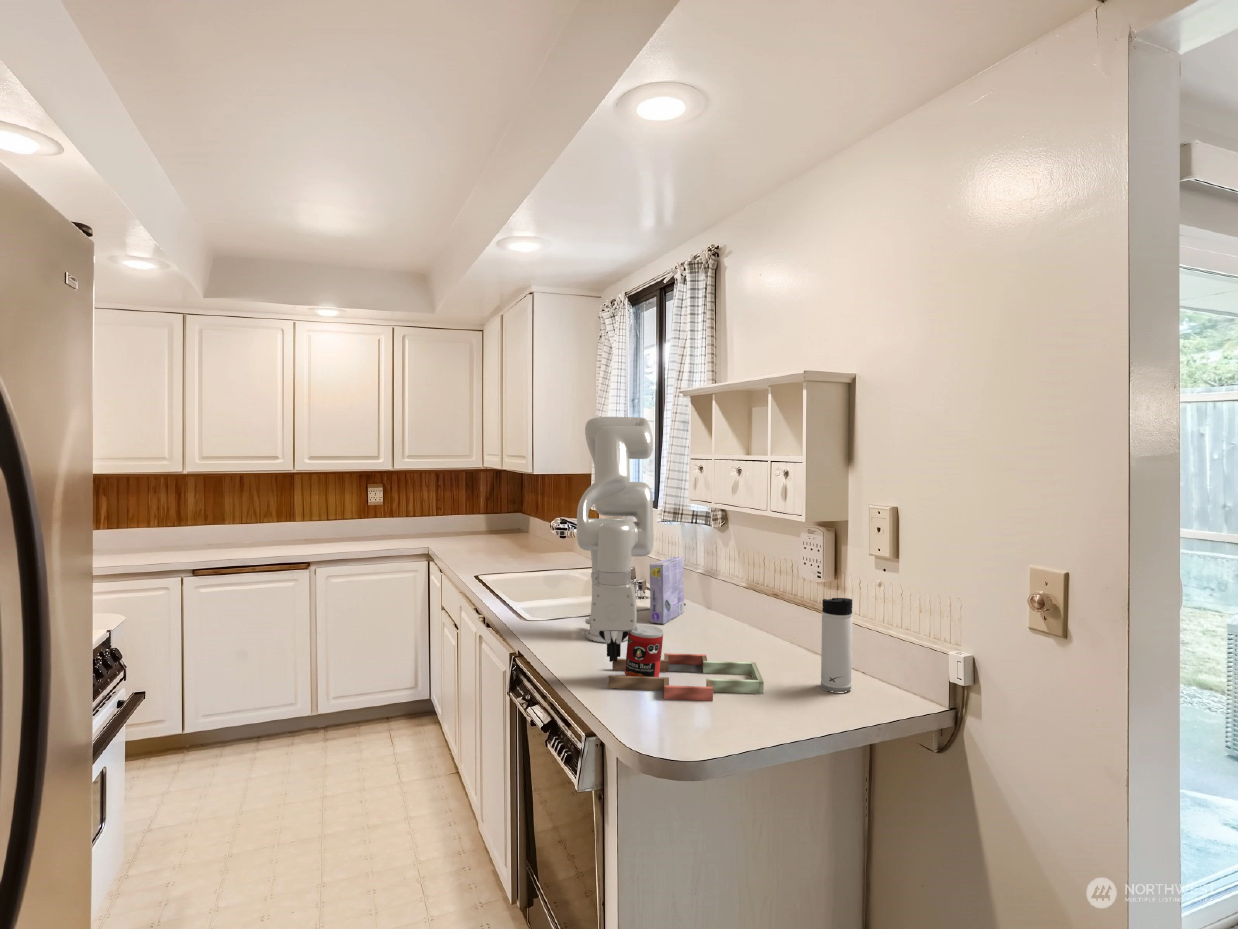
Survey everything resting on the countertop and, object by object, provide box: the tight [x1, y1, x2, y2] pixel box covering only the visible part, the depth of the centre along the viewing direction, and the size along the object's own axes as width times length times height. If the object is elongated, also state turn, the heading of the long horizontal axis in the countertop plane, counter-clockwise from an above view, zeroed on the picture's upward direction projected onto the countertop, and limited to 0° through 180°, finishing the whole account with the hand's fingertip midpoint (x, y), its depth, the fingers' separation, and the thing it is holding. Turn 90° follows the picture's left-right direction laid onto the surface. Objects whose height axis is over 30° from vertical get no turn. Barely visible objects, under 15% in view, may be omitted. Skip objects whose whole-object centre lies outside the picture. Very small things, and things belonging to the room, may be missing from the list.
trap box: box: [607, 652, 765, 702], centre depth 151 cm, size 33×23×2 cm
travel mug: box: [820, 597, 853, 692], centre depth 146 cm, size 6×7×20 cm
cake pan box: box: [649, 556, 685, 625], centre depth 207 cm, size 19×5×18 cm, turn 155°
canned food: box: [624, 624, 664, 677], centre depth 151 cm, size 8×8×11 cm
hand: (613, 659), depth 152 cm, fingers closed
